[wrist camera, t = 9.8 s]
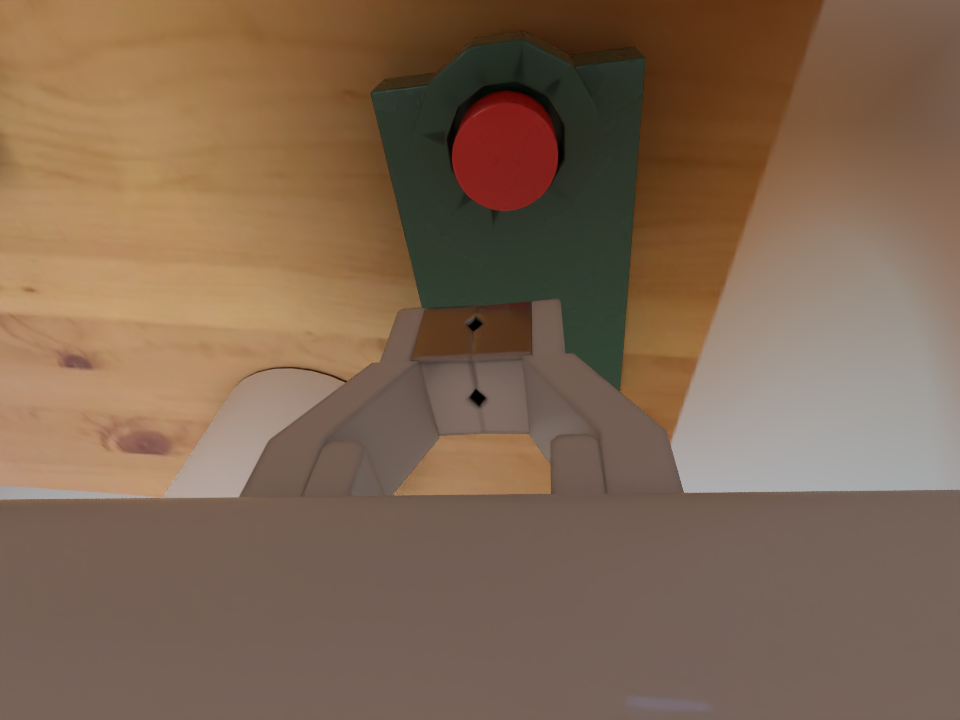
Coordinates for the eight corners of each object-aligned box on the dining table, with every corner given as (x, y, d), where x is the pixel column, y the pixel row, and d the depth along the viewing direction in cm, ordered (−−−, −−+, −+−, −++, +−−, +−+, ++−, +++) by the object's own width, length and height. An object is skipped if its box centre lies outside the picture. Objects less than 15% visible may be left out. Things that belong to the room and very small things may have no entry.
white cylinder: (203, 361, 31) (70, 535, 22) (384, 371, 31) (324, 553, 22) (256, 474, 39) (174, 638, 30) (403, 484, 38) (364, 653, 29)
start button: (449, 96, 17) (443, 109, 16) (554, 83, 17) (557, 96, 15) (464, 197, 19) (460, 216, 18) (557, 188, 19) (559, 207, 18)
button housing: (374, 43, 19) (346, 62, 16) (638, 6, 18) (660, 20, 15) (453, 394, 32) (445, 443, 29) (613, 388, 30) (623, 438, 27)
